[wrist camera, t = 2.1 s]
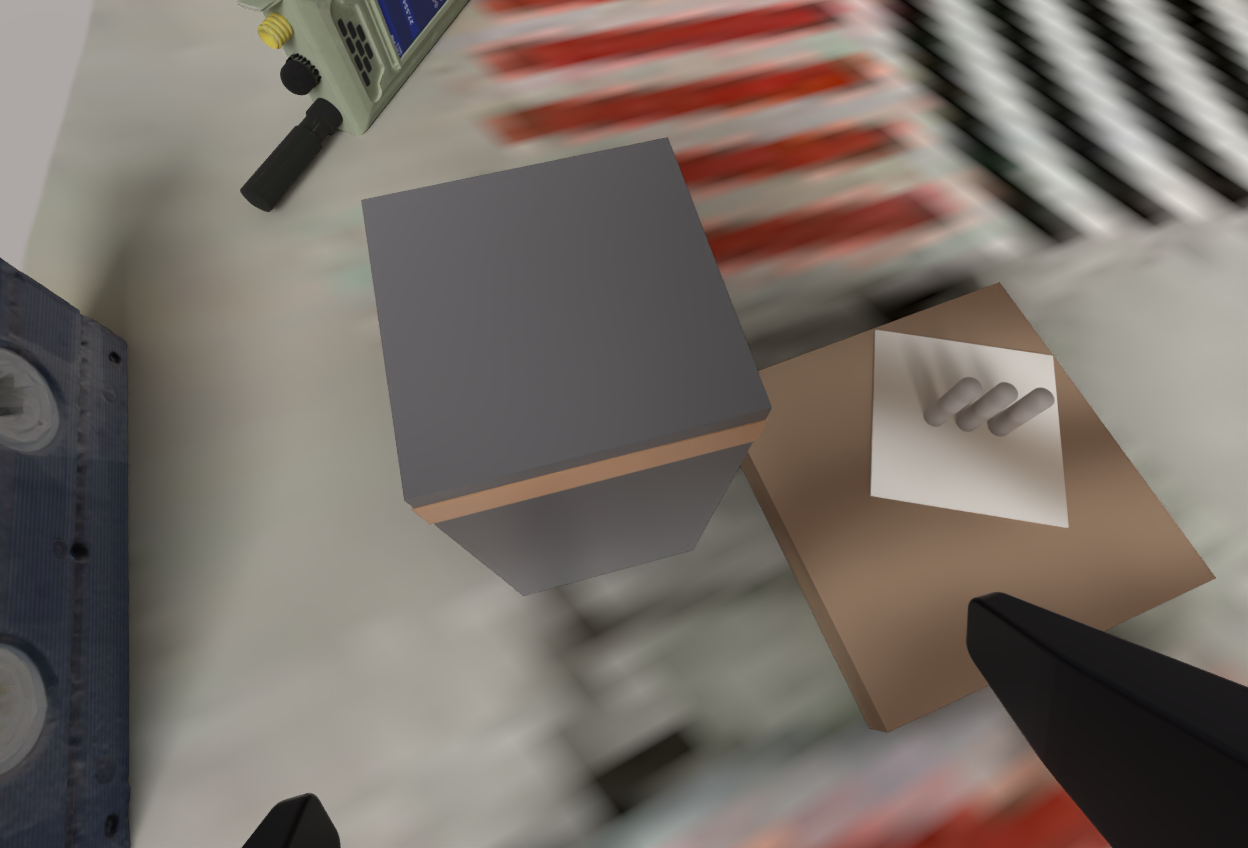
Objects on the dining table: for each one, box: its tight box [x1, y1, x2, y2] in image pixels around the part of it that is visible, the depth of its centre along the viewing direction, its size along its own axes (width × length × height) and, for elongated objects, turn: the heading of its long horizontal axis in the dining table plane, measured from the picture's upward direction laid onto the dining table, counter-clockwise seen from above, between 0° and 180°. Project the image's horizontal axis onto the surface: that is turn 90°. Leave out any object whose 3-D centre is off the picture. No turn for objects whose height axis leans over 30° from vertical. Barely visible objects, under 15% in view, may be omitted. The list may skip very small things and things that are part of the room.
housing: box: [361, 137, 772, 596], centre depth 17 cm, size 6×6×12 cm
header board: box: [741, 282, 1216, 733], centre depth 21 cm, size 12×12×4 cm
